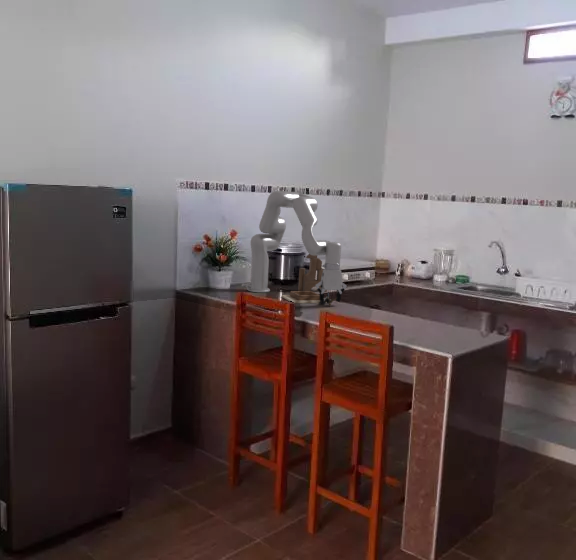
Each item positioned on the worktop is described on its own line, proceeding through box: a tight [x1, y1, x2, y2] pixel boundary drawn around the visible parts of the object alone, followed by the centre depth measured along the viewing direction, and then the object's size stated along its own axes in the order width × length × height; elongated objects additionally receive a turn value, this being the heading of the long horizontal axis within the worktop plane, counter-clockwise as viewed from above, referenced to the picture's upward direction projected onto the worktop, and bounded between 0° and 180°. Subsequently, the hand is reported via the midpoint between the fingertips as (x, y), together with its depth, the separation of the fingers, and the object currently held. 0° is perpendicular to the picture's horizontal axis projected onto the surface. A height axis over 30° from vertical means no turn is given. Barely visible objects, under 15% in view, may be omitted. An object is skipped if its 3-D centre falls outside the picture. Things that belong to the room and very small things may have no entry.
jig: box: [281, 290, 328, 304], centre depth 331 cm, size 20×18×4 cm
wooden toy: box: [297, 253, 328, 293], centre depth 360 cm, size 16×7×25 cm, turn 108°
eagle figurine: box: [318, 291, 336, 307], centre depth 320 cm, size 8×7×9 cm
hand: (329, 301), depth 318 cm, fingers open, 8 cm apart
